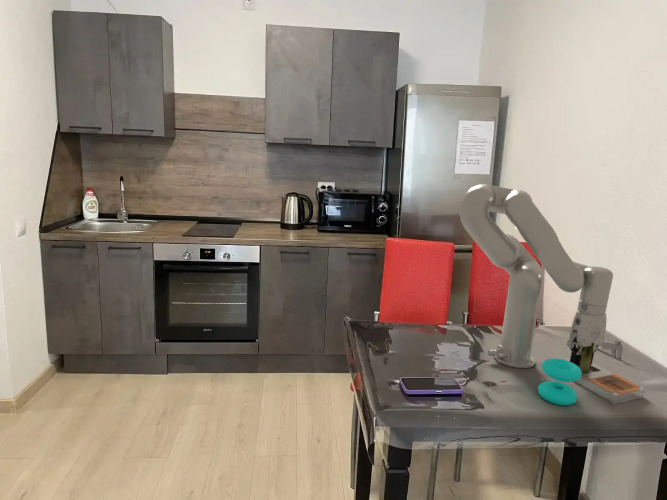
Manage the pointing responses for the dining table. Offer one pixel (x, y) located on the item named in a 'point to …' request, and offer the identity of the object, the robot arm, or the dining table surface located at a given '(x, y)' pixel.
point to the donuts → (555, 389)
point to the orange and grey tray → (609, 385)
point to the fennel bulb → (586, 358)
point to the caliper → (613, 348)
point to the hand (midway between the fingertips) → (580, 363)
